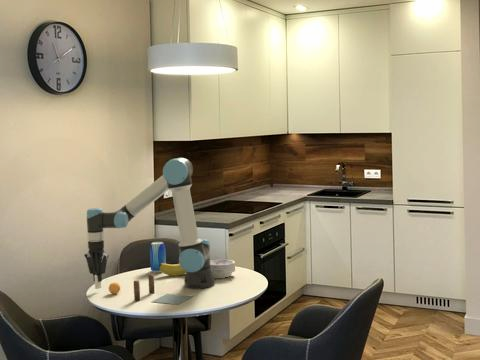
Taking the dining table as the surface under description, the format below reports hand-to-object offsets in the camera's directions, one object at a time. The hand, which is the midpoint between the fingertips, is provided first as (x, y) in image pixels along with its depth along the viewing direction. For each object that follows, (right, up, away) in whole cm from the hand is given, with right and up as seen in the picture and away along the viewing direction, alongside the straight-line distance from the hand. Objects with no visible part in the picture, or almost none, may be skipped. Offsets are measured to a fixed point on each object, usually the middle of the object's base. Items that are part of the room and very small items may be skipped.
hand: (98, 287), depth 293 cm
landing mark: (+38, -2, -16) cm, 42 cm away
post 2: (+27, -2, -5) cm, 27 cm away
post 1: (+22, -3, -16) cm, 27 cm away
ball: (+9, +1, -4) cm, 10 cm away
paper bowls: (+59, +1, +24) cm, 64 cm away
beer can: (+24, +2, +41) cm, 47 cm away
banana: (+37, +1, +31) cm, 48 cm away
